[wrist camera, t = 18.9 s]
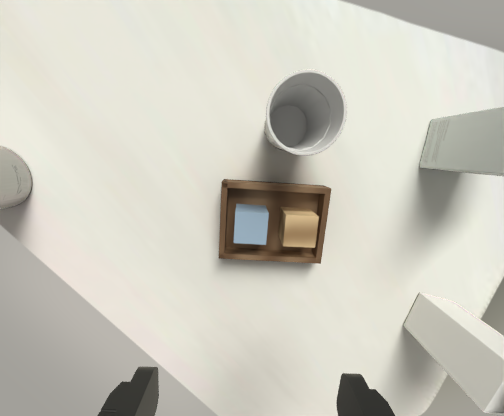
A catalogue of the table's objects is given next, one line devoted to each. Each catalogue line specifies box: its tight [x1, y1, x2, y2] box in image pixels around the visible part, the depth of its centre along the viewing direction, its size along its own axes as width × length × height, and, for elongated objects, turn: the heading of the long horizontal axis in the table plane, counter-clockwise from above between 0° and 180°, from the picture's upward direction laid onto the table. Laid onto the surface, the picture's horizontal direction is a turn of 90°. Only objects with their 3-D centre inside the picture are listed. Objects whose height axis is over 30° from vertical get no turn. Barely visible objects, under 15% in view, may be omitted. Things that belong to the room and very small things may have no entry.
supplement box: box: [420, 107, 504, 176], centre depth 30 cm, size 7×7×13 cm
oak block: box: [278, 207, 319, 248], centre depth 35 cm, size 4×4×5 cm
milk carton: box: [404, 293, 504, 416], centre depth 33 cm, size 7×7×19 cm
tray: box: [219, 179, 331, 263], centre depth 36 cm, size 16×12×3 cm
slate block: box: [234, 204, 269, 245], centre depth 34 cm, size 4×4×5 cm
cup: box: [265, 69, 347, 156], centre depth 29 cm, size 8×8×12 cm
